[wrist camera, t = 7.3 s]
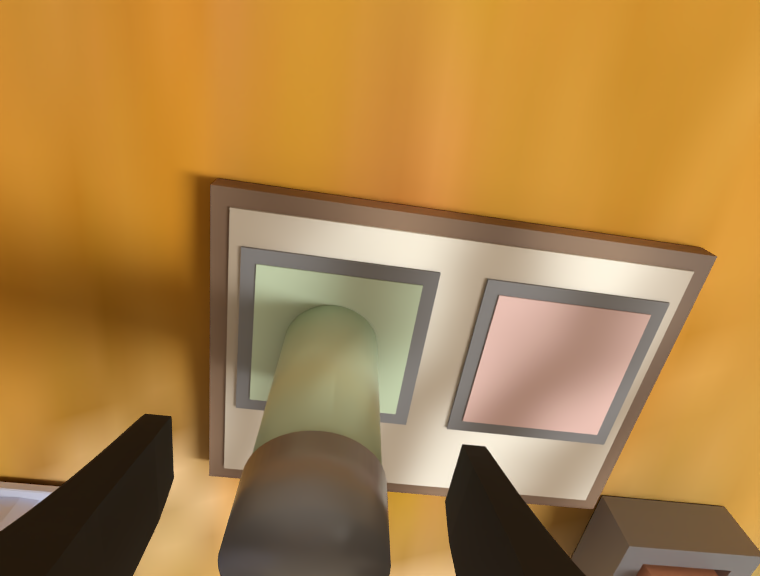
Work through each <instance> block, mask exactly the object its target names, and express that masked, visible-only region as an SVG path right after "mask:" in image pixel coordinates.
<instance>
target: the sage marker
mask: <svg viewBox="0 0 760 576" xmlns="http://www.w3.org/2000/svg"><path fill="white" fill-rule="evenodd" d="M390 568H391V561H390V540H389V519H388V499H387V479H386V475H385V471H384V469H383V467H382V456H381V429H380V403H379V377H378V351H377V338H376V335H375V332H374V330H373V328H372V326H371V325H370V324H369V322H368V321H367V320H366V319H365V318H364V317H363V316H361V315H360V314H358V313H357V312H355V311H353V310H351V309H348V308H345V307H341V306H335V305H324V306H318V307H314V308H311V309H309V310H307V311H305V312H303V313H301V314H300V315H299V316H297V317H296V318H295V319H294V320H293V321H292V323H291V324H290V326H289V328H288V330H287V332H286V335H285V339H284V342H283V346H282V349H281V353H280V357H279V360H278V364H277V367H276V371H275V374H274V378H273V382H272V385H271V389H270V392H269V396H268V399H267V403H266V406H265V410H264V414H263V417H262V421H261V424H260V428H259V431H258V435H257V438H256V442H255V446H254V449H253V453H252V455H251V456H250V458H249V459H248V460H247V462H246V464H245V466H244V469H243V472H242V476H241V479H240V482H239V486H238V489H237V493H236V496H235V500H234V503H233V506H232V510H231V513H230V517H229V520H228V524H227V527H226V530H225V534H224V537H223V541H222V544H221V548H220V551H219V555H218V569H219V572H220V575H221V576H389V574H390Z"/></svg>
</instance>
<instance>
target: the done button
mask: <svg viewBox="0 0 760 576" xmlns="http://www.w3.org/2000/svg"><path fill="white" fill-rule="evenodd" d="M636 576H718V575H717V573H716V572H715V570H714V569H701V568H688V567H675V566H662V565H649V564H643V565H642V567H641V568H640V570H639V572H638V573H637V575H636Z"/></svg>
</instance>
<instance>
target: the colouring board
mask: <svg viewBox="0 0 760 576" xmlns="http://www.w3.org/2000/svg"><path fill="white" fill-rule="evenodd" d="M716 258H717V256H715V255H714V254H712V253H710V252H708V251H707V250H705V249H703V248H700V247H693V246H686V245H679V244H672V243H665V242H658V241H651V240H644V239H637V238H630V237H623V236H616V235H609V234H602V233H595V232H589V231H582V230H575V229H568V228H561V227H554V226H547V225H540V224H533V223H526V222H519V221H512V220H505V219H498V218H491V217H484V216H477V215H470V214H463V213H456V212H449V211H442V210H435V209H428V208H421V207H415V206H408V205H401V204H394V203H387V202H380V201H373V200H366V199H359V198H352V197H345V196H338V195H331V194H324V193H317V192H310V191H303V190H296V189H289V188H282V187H275V186H268V185H261V184H254V183H247V182H240V181H234V180H227V179H220V178H217V179H216V180H215V181H214V182H213V183H212V184H210V434H209V476H218V477H229V478H241V476H242V472H243V469H244V466H245V464H246V462H247V460H248V459H249V458H250V456H251V455H252V453H253V449H254V446H255V442H256V438H257V435H258V431H259V428H260V424H261V421H262V417H263V414H264V410H265V406H266V403H267V399H268V396H269V392H270V389H271V385H272V382H273V378H274V374H275V371H276V367H277V364H278V360H279V357H280V353H281V349H282V346H283V342H284V339H285V335H286V332H287V330H288V328H289V326H290V324H291V323H292V321H293V320H294V319H295V318H296V317H297V316H299V315H300V314H301V313H303V312H305V311H307V310H309V309H311V308H314V307H318V306H324V305H335V306H341V307H345V308H348V309H351V310H353V311H355V312H357V313H358V314H360V315H361V316H363V317H364V318H365V319H366V320H367V321H368V322H369V324H370V325H371V326H372V328H373V330H374V332H375V335H376V338H377V351H378V377H379V403H380V429H381V456H382V467H383V469H384V471H385V475H386V479H387V491H390V492H401V493H412V494H424V495H435V496H447V494H448V490H449V487H450V483H451V480H452V477H453V473H454V470H455V467H456V463H457V460H458V457H459V453H460V450H461V447H462V444H466V445H477V446H486V448H487V449H488V451H489V452H490V453H491V455H492V456H493V458H494V459H495V460H496V462H497V463H498V465H499V466H500V468H501V469H502V470H503V472H504V473H505V475H506V476H507V478H508V479H509V480H510V482H511V483H512V485H513V486H514V487H515V489H516V490H517V492H518V493H519V494H520V496H521V497H522V498H523V500H524V501H525V502H526V503H527V504H539V505H550V506H561V507H573V508H584V509H593V508H594V506H595V504H596V502H597V500H598V498H599V496H600V494H601V492H602V490H603V488H604V486H605V484H606V482H607V480H608V478H609V476H610V474H611V472H612V470H613V468H614V466H615V464H616V462H617V460H618V457H619V455H620V453H621V451H622V449H623V447H624V445H625V443H626V441H627V439H628V437H629V435H630V433H631V431H632V429H633V427H634V425H635V423H636V421H637V419H638V417H639V415H640V413H641V411H642V409H643V407H644V405H645V402H646V400H647V398H648V396H649V394H650V392H651V390H652V388H653V386H654V384H655V382H656V380H657V378H658V376H659V374H660V372H661V370H662V368H663V366H664V364H665V362H666V360H667V358H668V356H669V354H670V352H671V349H672V347H673V345H674V343H675V341H676V339H677V337H678V335H679V333H680V331H681V329H682V327H683V325H684V323H685V321H686V319H687V317H688V315H689V313H690V311H691V309H692V307H693V305H694V303H695V301H696V299H697V297H698V294H699V292H700V290H701V288H702V286H703V284H704V282H705V280H706V278H707V276H708V274H709V272H710V270H711V268H712V266H713V264H714V262H715V260H716Z"/></svg>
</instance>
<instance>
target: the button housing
mask: <svg viewBox="0 0 760 576" xmlns="http://www.w3.org/2000/svg"><path fill="white" fill-rule="evenodd" d="M571 560H572V561H573V562H574V563H575V564H576V565H577V566H578V568H579V569H580V570H581V571H582V572H583V573H584V574H585V575H586V576H636V575H637V573H638V572H639V570H640V568H641V567H642V565H643V564H649V565H662V566H675V567H688V568H701V569H714V570H715V572H716V573H717V575H718V576H751V574H752V573H753V572H754V570H755V569H756V568H757V566H758V565H759V564H760V551H759V550H758V548H757V547H756V546H755V545H754V543H753V542H752V541H751V540H750V538H749V537H748V536H747V535H746V533H745V532H744V531H743V529H742V528H741V527H740V526H739V524H738V523H737V522H736V521H735V519H734V518H733V517H732V516H731V514H730V513H729V512H728V511H727V509H726V508H725V507H722V506H710V505H699V504H688V503H677V502H666V501H655V500H644V499H633V498H622V497H611V496H602V497H601V499H600V501H599V503H598V505H597V508H596V510H595V512H594V514H593V516H592V518H591V520H590V522H589V524H588V526H587V528H586V530H585V532H584V534H583V536H582V538H581V540H580V542H579V544H578V546H577V548H576V550H575V552H574V554H573V556H572V558H571Z"/></svg>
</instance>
